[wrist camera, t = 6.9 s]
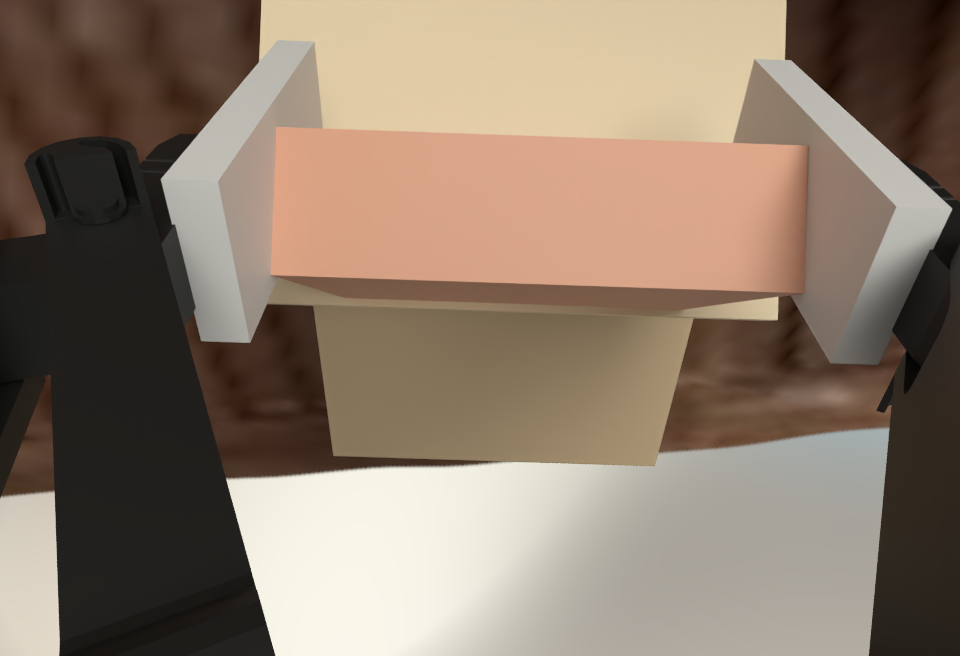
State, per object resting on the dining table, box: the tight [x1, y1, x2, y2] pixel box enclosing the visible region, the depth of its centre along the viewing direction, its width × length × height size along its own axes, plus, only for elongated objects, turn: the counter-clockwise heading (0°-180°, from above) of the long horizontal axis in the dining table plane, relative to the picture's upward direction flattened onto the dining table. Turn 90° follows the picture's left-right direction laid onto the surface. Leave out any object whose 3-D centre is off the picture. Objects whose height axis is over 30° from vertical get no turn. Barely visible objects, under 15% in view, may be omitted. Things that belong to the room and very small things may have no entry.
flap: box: [259, 0, 808, 321], centre depth 16 cm, size 14×10×8 cm
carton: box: [313, 306, 693, 466], centre depth 30 cm, size 14×20×11 cm
